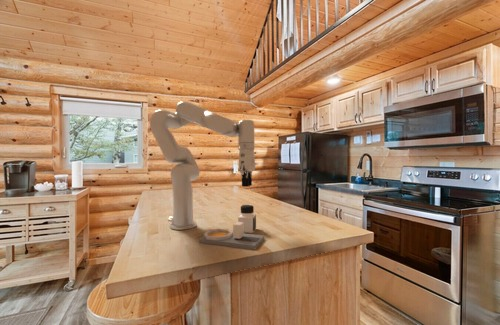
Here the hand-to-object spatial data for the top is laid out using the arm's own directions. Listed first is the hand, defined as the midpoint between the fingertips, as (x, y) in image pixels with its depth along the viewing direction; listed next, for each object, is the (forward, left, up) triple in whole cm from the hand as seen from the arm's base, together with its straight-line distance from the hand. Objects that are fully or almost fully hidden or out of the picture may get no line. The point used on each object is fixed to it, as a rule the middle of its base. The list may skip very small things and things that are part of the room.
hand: (246, 185), depth 111 cm
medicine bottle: (0, 0, -21) cm, 21 cm away
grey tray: (-1, -15, -21) cm, 26 cm away
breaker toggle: (+2, -15, -19) cm, 24 cm away
